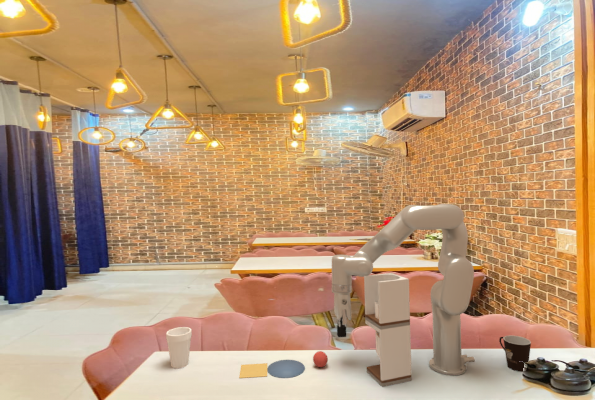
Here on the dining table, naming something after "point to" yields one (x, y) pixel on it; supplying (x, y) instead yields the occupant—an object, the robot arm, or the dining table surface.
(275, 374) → the disc
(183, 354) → the foam cup
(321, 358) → the ball
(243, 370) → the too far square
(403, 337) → the display case
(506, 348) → the coffee mug
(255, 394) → the dining table surface
